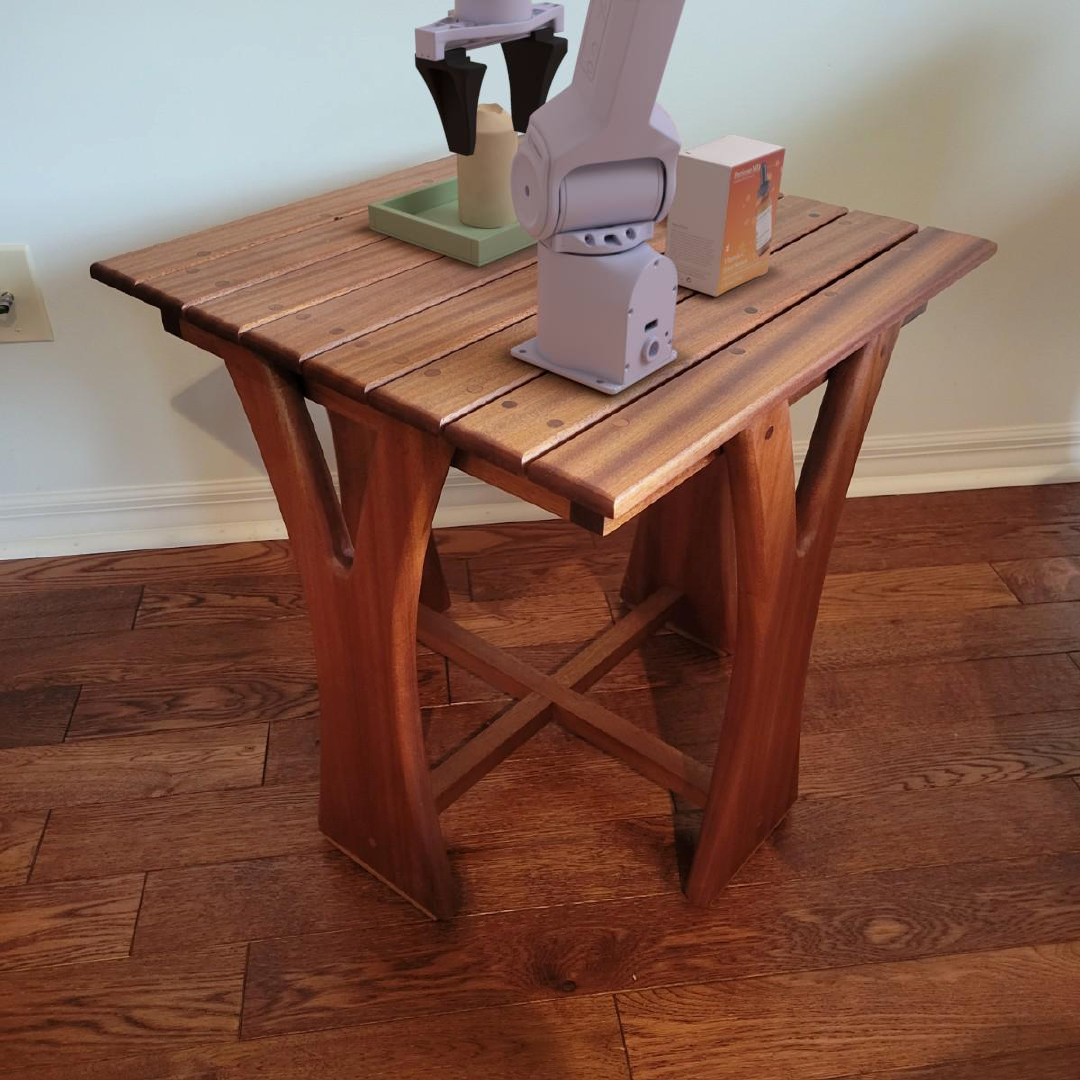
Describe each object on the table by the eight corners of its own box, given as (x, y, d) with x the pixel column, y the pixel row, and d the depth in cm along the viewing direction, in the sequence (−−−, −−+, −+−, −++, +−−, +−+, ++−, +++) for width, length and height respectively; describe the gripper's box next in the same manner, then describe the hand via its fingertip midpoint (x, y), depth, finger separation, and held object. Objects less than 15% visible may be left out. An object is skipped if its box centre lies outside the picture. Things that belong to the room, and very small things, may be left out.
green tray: (604, 215, 104) (605, 190, 103) (478, 267, 93) (478, 240, 92) (498, 184, 111) (497, 161, 110) (369, 229, 100) (367, 204, 99)
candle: (510, 231, 99) (510, 116, 93) (451, 226, 100) (447, 112, 94) (523, 211, 104) (523, 100, 98) (467, 206, 105) (464, 96, 99)
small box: (715, 299, 88) (730, 167, 82) (660, 280, 91) (670, 152, 85) (770, 272, 93) (788, 145, 87) (715, 255, 96) (729, 131, 90)
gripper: (516, -66, 86) (516, 115, 94) (380, -47, 76) (392, 152, 84) (587, -56, 82) (581, 131, 90) (453, -35, 73) (459, 171, 81)
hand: (494, 142), depth 87 cm, fingers open, 7 cm apart
